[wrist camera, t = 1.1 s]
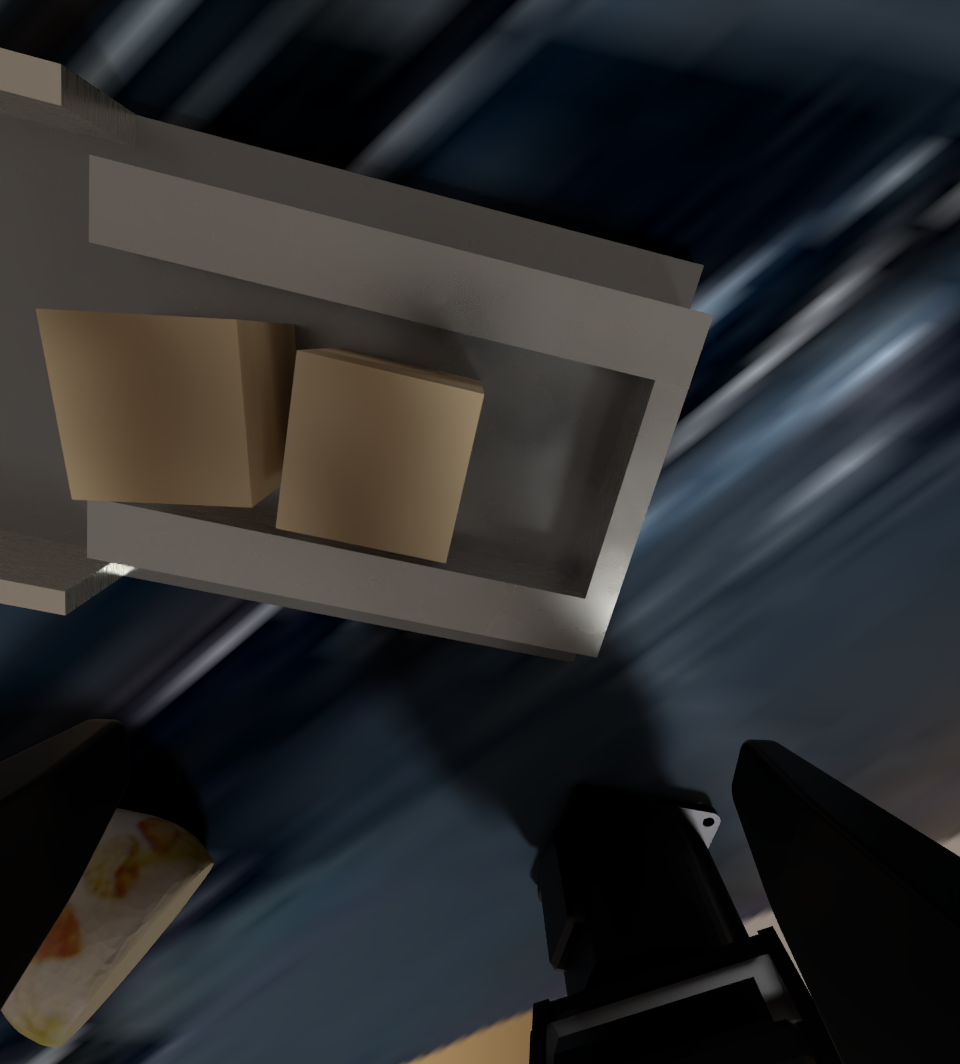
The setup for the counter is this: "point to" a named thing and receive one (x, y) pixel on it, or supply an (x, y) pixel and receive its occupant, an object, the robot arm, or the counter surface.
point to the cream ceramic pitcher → (107, 924)
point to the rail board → (336, 322)
